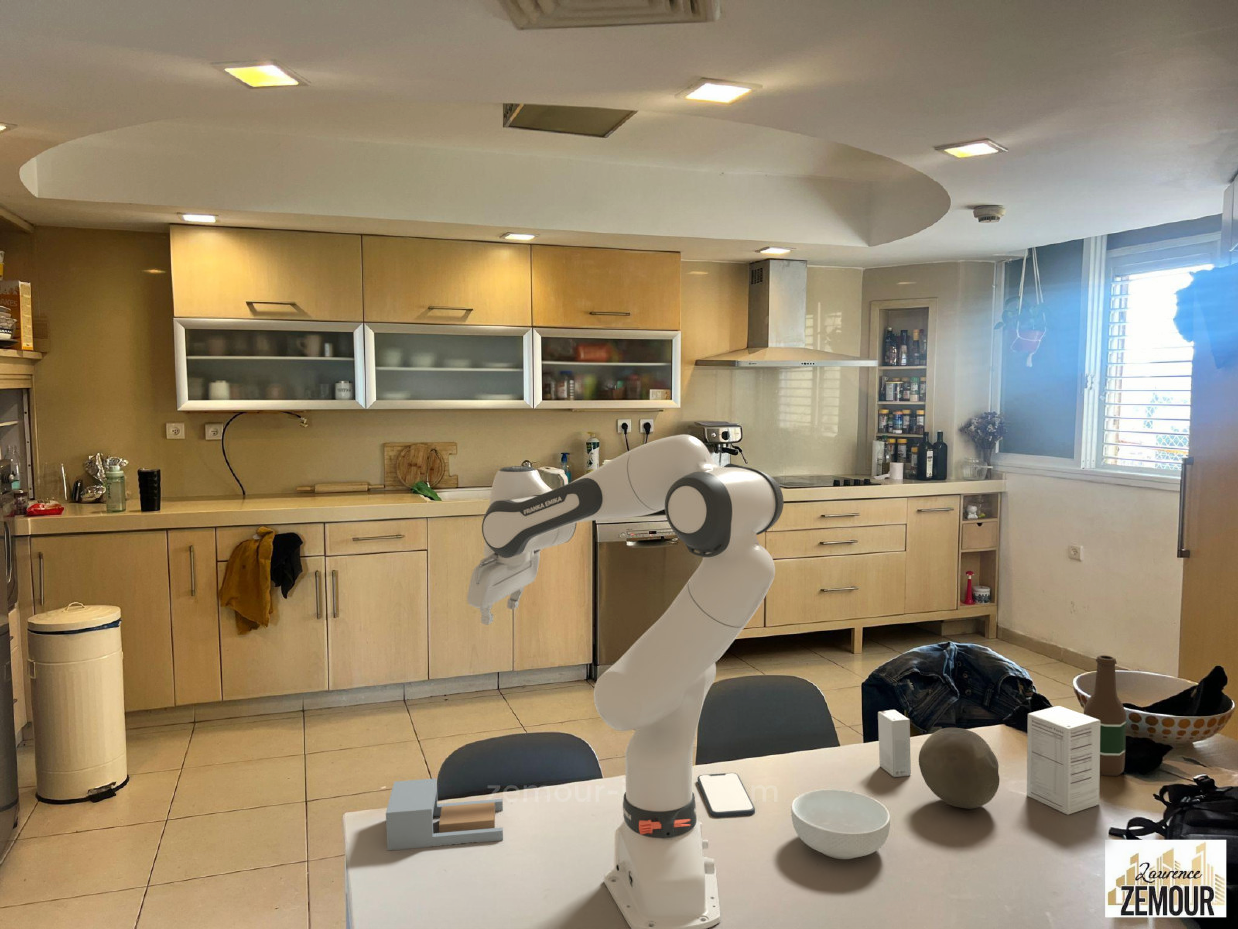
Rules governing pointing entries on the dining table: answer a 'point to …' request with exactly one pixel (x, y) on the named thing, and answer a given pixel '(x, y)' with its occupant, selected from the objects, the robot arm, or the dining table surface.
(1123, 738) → the beer bottle
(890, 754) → the skincare box
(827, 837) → the cereal bowl
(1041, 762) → the supplement box
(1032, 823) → the dining table surface
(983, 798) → the cantaloupe
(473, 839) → the grey u-shaped frame
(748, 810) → the smartphone
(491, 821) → the tan cardboard slab
